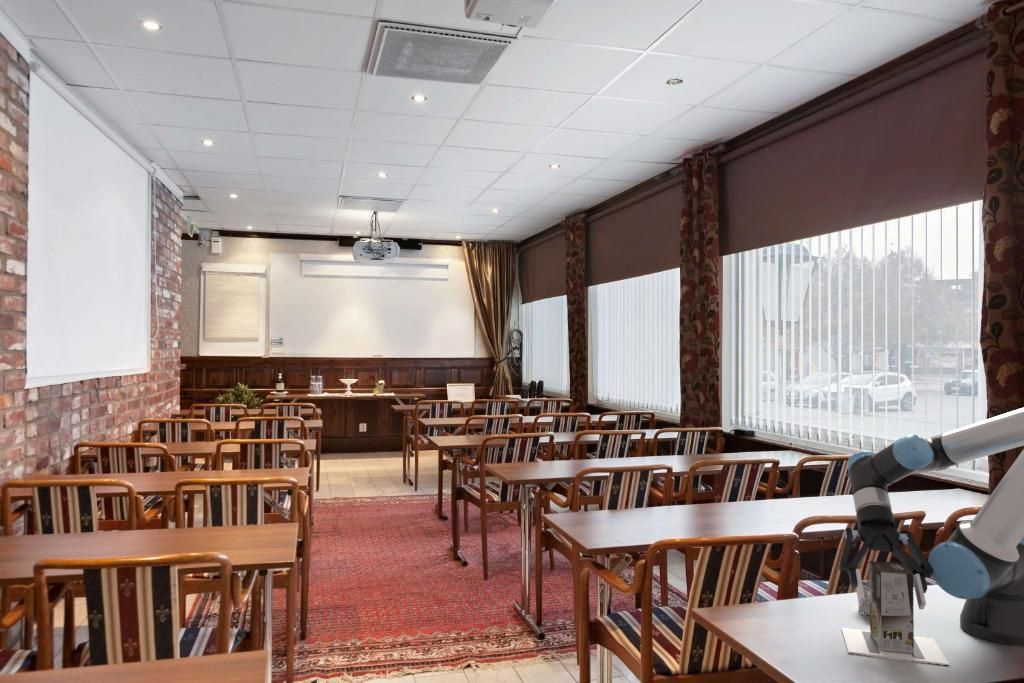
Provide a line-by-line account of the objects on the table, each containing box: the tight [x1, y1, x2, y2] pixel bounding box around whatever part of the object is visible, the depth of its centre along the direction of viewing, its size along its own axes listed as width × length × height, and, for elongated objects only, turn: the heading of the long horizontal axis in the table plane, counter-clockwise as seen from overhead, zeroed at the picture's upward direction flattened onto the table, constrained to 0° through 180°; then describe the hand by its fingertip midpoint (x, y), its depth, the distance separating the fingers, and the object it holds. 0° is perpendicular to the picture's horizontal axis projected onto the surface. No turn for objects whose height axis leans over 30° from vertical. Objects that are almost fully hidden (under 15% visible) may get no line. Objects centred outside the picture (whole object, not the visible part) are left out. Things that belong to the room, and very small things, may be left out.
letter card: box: [840, 627, 950, 666], centre depth 150 cm, size 18×14×1 cm
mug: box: [858, 579, 870, 617], centre depth 170 cm, size 10×7×7 cm
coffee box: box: [868, 560, 915, 653], centre depth 151 cm, size 9×6×16 cm
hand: (891, 603), depth 148 cm, fingers open, 11 cm apart
